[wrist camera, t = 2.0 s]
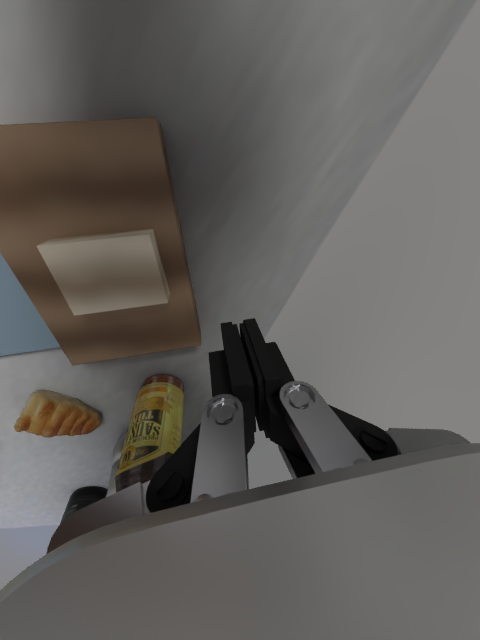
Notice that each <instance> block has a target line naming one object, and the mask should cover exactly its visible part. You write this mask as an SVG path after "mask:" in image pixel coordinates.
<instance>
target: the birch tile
mask: <svg viewBox="0 0 480 640" xmlns="http://www.w3.org/2000/svg"><path fill="white" fill-rule="evenodd" d="M37 248H38V250H39V252H40V254H41V255H42V257H43V259H44V261H45V263H46V265H47V266H48V268H49V270H50V272H51V274H52V276H53V277H54V279H55V281H56V283H57V285H58V287H59V288H60V290H61V292H62V294H63V296H64V298H65V300H66V301H67V303H68V305H69V307H70V309H71V311H72V312H73V314H74V316H75V315H83V314H90V313H98V312H105V311H112V310H120V309H127V308H135V307H142V306H149V305H157V304H164V303H168V300H169V294H170V292H169V289H168V285H167V281H166V277H165V273H164V269H163V265H162V261H161V258H160V254H159V250H158V246H157V242H156V238H155V234H154V230H153V229H147V230H137V231H127V232H118V233H108V234H98V235H88V236H78V237H68V238H58V239H50V240H48V241H46V242H44V243H42V244H40V245H38V246H37Z"/></svg>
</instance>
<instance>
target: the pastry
mask: <svg viewBox="0 0 480 640" xmlns="http://www.w3.org/2000/svg"><path fill="white" fill-rule="evenodd" d="M100 424H101V417H100V414H99V412H98V411H97V410H96V409H95V408H92V407H89V406H88V405H87V404H85V403H83V402H82V401H81V400H79V399H75V398H72V397H69V396H65V395H63V394H60V393H56V392H52V391H48V390H37V391H35V392H33V393H32V394H31V396H30V397H29V399H28V400H27V402H26V405H25V407H24V408H23V410H22V412H21V414H20V417H19V418H18V420H17V421H16V423H15V425H14V428H15V430H16V431H17V432H21V431H26V432H29V433H33V434H36V435H42V436H44V437H53V436H57V435H58V436H61V435H69V436H74V435H81V434H88V433H90V432H92V431H93V430H94V429H96V428H97V427H98V426H99V425H100Z"/></svg>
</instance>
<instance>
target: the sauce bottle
mask: <svg viewBox="0 0 480 640" xmlns="http://www.w3.org/2000/svg"><path fill="white" fill-rule="evenodd" d="M183 411H184V387H183V384H182V383H181V381H180V380H178V379H177V378H175V377H174V376H171V375H156V376H152V377H150V378H148V379H147V380H146V381H145V382H144V383H143V384H142V386H141V388H140V390H139V392H138V394H137V398H136V401H135V405H134V409H133V412H132V416H131V420H130V424H129V427H128V430H127V435H126V438H125V442H124V446H123V449H122V453H121V457H120V460H119V464H118V467H117V471H116V475H115V483H116V493H117V492H119V491H121V490H123V489H125V488H128V487H130V486H132V485H134V484H136V483H138V482H141V484H143V483H145V482H148V481H150V480H151V479H152V478H153V476H154V475H155V473H156V472H157V471H158V470H159V469H160V468H161V467H162V466H163V464H164V463H165V462H166V461H167V460H168V459H169V458H170V457H171V455H172V454H173V453H174V452H175V451H176V450H177V449H178V448H179V447H180V445H181V437H182V424H183Z"/></svg>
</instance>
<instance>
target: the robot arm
mask: <svg viewBox="0 0 480 640" xmlns="http://www.w3.org/2000/svg"><path fill="white" fill-rule="evenodd" d="M221 331H222V339H223V346H224V350H221V351H215V352H209V362H210V374H211V385H212V398H211V399H210V400H209V401H207V403H206V404H205V406H204V408H203V411H202V418H201V423H200V424H199V425H198V427H197V428H196V429H195V430H194V431H193V432H192V433H191V434H190V435H189V437H188V438H187V439H186V440H185V441H184V442H183V443H182V444H181V445H180V447H179V448H178V449H177V450H176V451H175V452H174V453H173V454H172V455H171V457H170V458H169V459H168V460H167V461H166V462H165V463H164V464H163V466H162V467H161V468H160V469H159V470H158V471H157V472H156V473H155V475H154V476H153V478H152V479H151V480H150V481H148V482H145V483H143V484H141V482H138V483H136V484H134V485H132V486H130V487H128V488H125V489H123V490H121V491H119V492H117V493H115V494H112V495H110V496H108V497H106V498H104V499H102V500H99V501H97V502H95V503H93V504H91V505H89V506H86V507H84V508H82V509H80V510H78V511H76V512H74V513H73V514H71V515H70V516H68V517H67V518H66V519H65V520H64V521H63V522H62V523H61V524H60V525H59V526H58V528H57V529H56V531H55V533H54V534H53V536H52V537H51V540H50V543H49V546H48V548H47V553H46V555H45V556H43V557H42V558H40V559H39V560H37V561H36V562H34V563H33V564H32V565H30V566H29V567H27V568H26V569H25V570H24V571H22V572H21V573H20V574H19V575H17V576H16V577H15V578H14V579H13V580H11V581H10V582H9V583H8V584H7V585H6V586H5V587H4V588H3V589H1V590H0V640H480V443H470V442H469V441H468V440H467V439H465V438H464V437H462V436H461V435H459V434H456V433H454V432H452V431H448V430H442V429H441V430H440V429H404V428H389V429H388V431H384V430H382V429H381V428H379V427H377V426H375V425H373V424H371V423H368V422H366V421H364V420H361V419H359V418H357V417H355V416H352V415H350V414H348V413H346V412H344V411H341V410H339V409H337V408H335V407H332V406H330V405H328V404H327V403H326V401H325V400H324V399H323V398H322V396H321V395H320V394H319V393H318V391H317V390H316V389H315V388H314V387H313V386H311V385H310V384H308V383H305V382H302V381H295V380H294V378H293V376H292V374H291V372H290V370H289V368H288V366H287V364H286V362H285V361H284V358H283V356H282V354H281V352H280V350H279V348H278V346H277V344H276V343H275V342H271V343H265V341H264V338H263V336H262V334H261V331H260V329H259V327H258V324H257V322H256V320H255V319H247V320H243V323H240V334H239V331H238V328H237V324H234V325H232V322H227V323H221ZM240 336H241V338H240ZM255 416H256V420H257V423H258V427H259V430H260V431H263V430H264V432H265V436H266V438H270V440H271V441H273V442H275V443H276V444H278V448H279V450H280V452H281V455H282V457H283V459H284V461H285V463H286V465H287V468H288V470H289V472H290V474H291V476H292V478H293V479H292V480H287V481H283V482H279V483H275V484H270V485H266V486H261V487H257V488H253V489H249V478H248V458H247V454H248V452H249V451H250V449H251V448H252V446H253V444H254V443H255V442H254V432H256V420H255Z"/></svg>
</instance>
